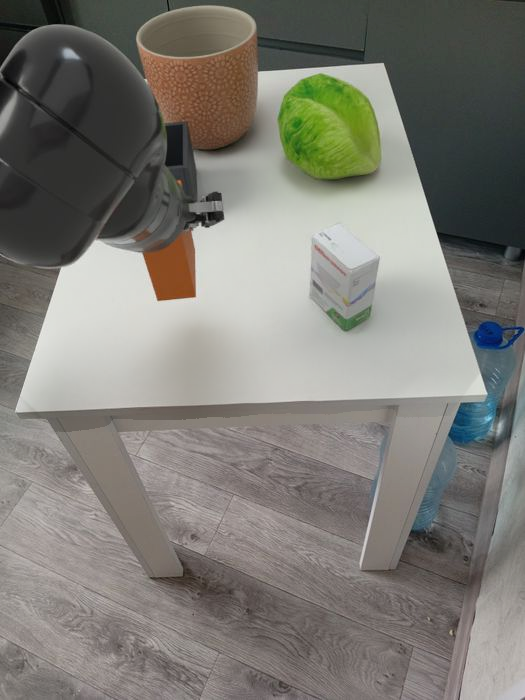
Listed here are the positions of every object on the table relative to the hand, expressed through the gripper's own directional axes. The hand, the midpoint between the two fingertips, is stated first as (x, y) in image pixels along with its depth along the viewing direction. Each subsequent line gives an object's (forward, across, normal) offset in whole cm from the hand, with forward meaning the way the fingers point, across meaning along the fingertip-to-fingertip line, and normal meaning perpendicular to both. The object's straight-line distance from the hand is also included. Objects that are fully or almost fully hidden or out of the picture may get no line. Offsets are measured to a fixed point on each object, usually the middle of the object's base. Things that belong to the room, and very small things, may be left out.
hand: (166, 223), depth 57 cm
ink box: (+15, -21, +12) cm, 29 cm away
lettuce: (+39, -25, -11) cm, 47 cm away
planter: (+50, -4, -22) cm, 55 cm away
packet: (+3, 0, +6) cm, 6 cm away
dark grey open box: (+37, +6, -9) cm, 38 cm away
